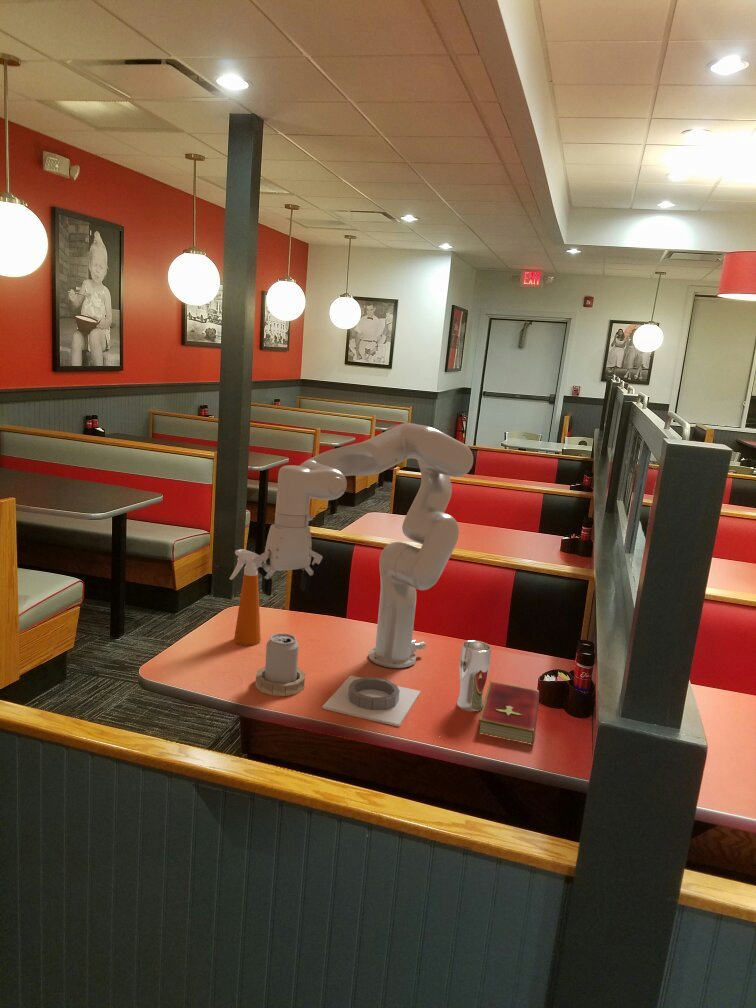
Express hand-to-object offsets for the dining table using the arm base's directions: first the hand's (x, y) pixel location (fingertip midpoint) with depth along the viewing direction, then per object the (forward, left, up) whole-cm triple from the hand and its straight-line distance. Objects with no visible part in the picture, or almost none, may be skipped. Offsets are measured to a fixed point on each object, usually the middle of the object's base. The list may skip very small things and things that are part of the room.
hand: (285, 592), depth 168 cm
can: (0, 0, -23) cm, 23 cm away
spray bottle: (-2, -27, -23) cm, 36 cm away
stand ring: (0, 0, -23) cm, 23 cm away
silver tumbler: (-36, +28, -23) cm, 51 cm away
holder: (-16, +16, -23) cm, 32 cm away
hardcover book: (-40, +36, -24) cm, 59 cm away
